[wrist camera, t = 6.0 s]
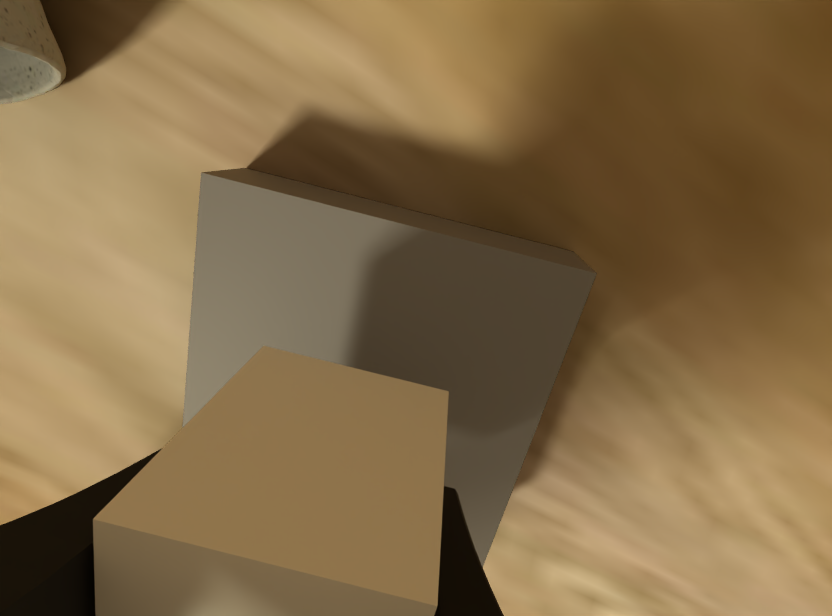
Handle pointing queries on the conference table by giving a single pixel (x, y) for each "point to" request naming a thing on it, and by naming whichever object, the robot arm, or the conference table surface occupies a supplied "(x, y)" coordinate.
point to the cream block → (285, 501)
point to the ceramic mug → (27, 52)
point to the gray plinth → (388, 313)
